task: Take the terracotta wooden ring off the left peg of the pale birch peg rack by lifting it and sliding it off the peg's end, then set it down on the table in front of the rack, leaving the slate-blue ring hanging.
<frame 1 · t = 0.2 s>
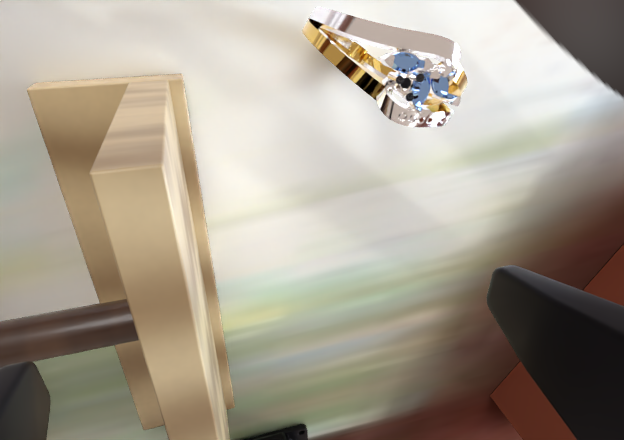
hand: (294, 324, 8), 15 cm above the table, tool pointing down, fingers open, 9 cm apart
ring: (347, 51, 21), on the table
peg rack: (159, 278, 24), on the table
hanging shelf: (611, 313, 39), on the table
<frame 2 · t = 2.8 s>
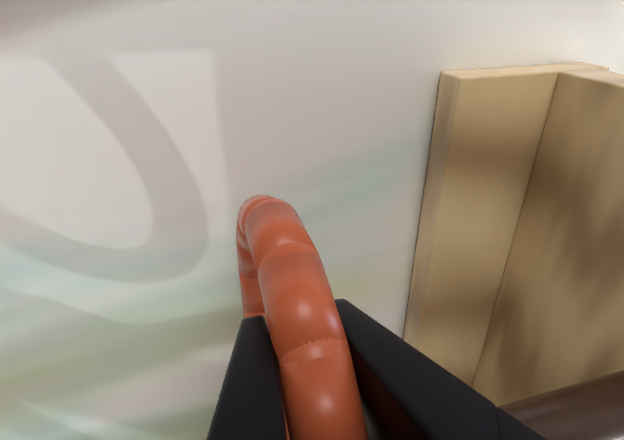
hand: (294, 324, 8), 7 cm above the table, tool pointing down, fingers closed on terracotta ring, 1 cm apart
peg rack: (461, 302, 20), on the table
terracotta ring: (287, 384, 10), point 6 cm above the table, touching gripper, peg rack
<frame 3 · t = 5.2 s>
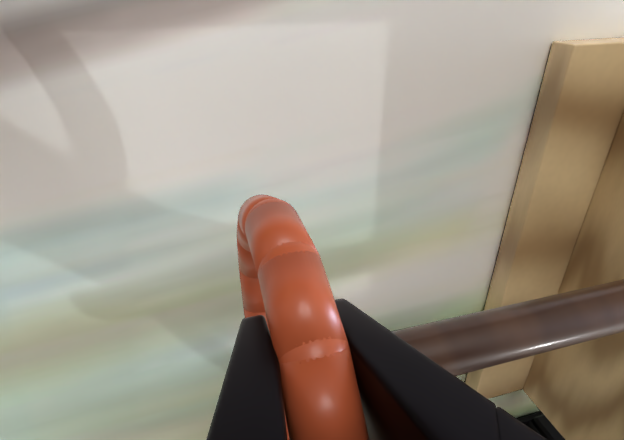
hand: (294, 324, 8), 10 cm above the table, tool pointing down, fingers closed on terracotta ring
peg rack: (542, 247, 24), on the table
terracotta ring: (287, 384, 10), point 9 cm above the table, touching gripper
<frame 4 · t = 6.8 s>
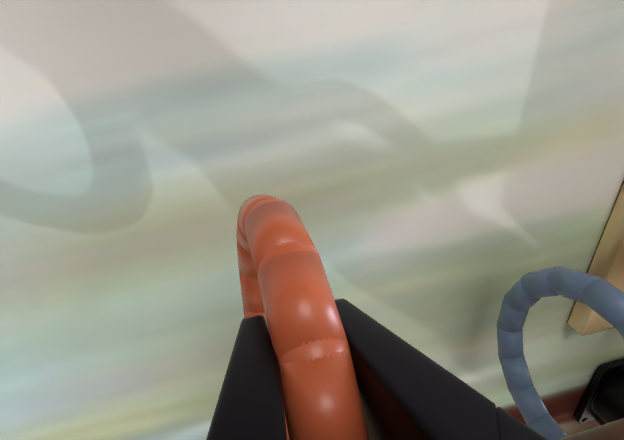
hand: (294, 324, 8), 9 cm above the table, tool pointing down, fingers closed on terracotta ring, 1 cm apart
slate ring: (578, 377, 18), point 6 cm above the table, touching peg rack
terracotta ring: (287, 384, 10), point 8 cm above the table, touching gripper
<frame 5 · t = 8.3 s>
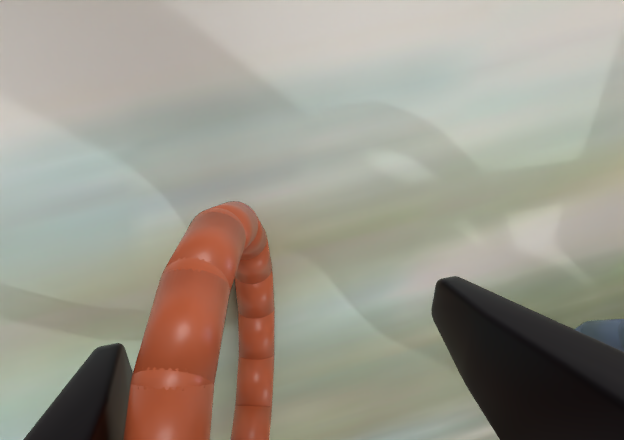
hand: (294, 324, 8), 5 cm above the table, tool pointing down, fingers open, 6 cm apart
terracotta ring: (228, 399, 10), point 4 cm above the table, tilted 18°, touching gripper
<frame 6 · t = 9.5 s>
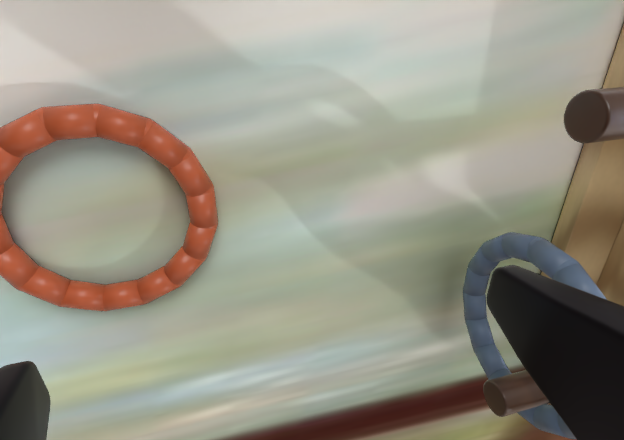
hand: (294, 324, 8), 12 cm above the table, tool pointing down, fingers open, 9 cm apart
slate ring: (527, 330, 20), point 6 cm above the table, touching peg rack
terracotta ring: (101, 218, 17), point 1 cm above the table, tilted 90°
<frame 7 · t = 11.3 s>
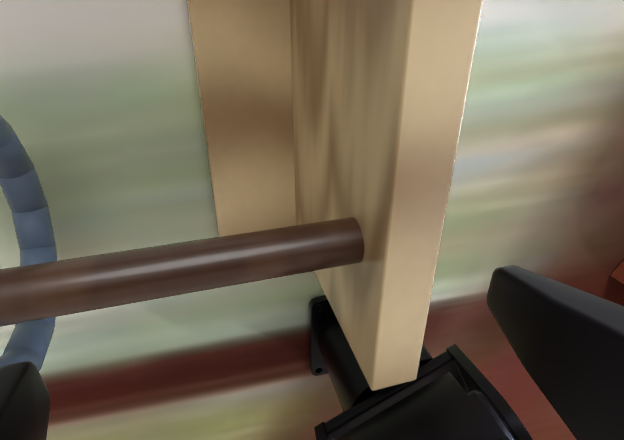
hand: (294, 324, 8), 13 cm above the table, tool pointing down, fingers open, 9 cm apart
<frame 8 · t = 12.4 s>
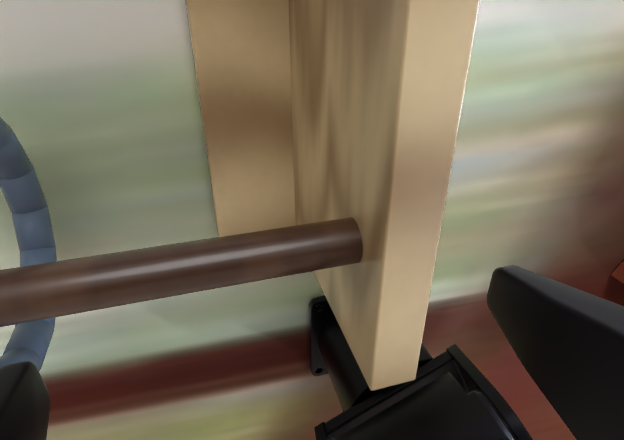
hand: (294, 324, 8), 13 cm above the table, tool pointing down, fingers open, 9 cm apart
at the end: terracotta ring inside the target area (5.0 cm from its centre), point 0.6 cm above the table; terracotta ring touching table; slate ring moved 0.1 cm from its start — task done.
